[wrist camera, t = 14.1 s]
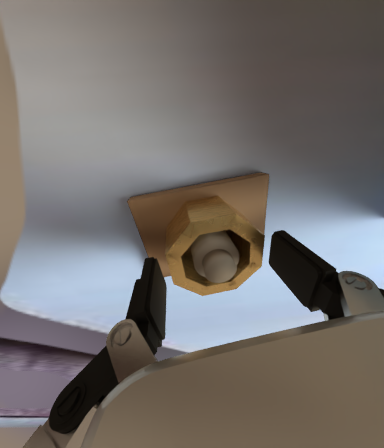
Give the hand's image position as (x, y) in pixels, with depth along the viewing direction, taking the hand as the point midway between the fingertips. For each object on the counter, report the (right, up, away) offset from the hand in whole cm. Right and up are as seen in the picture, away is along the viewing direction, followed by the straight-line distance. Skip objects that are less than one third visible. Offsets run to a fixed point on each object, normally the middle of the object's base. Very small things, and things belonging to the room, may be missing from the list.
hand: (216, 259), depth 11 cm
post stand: (-1, +2, +5) cm, 5 cm away
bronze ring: (0, +2, +3) cm, 4 cm away
